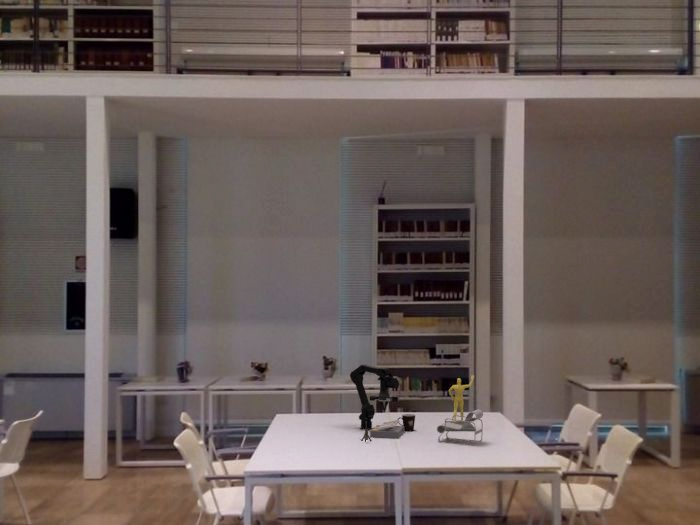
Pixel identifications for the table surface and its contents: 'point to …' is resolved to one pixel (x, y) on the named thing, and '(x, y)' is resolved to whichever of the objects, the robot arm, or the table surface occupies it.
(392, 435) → the console
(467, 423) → the chair
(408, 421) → the coffee mug
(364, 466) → the table surface
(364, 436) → the eiffel tower figurine
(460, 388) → the statue
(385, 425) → the rocker
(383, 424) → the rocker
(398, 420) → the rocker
